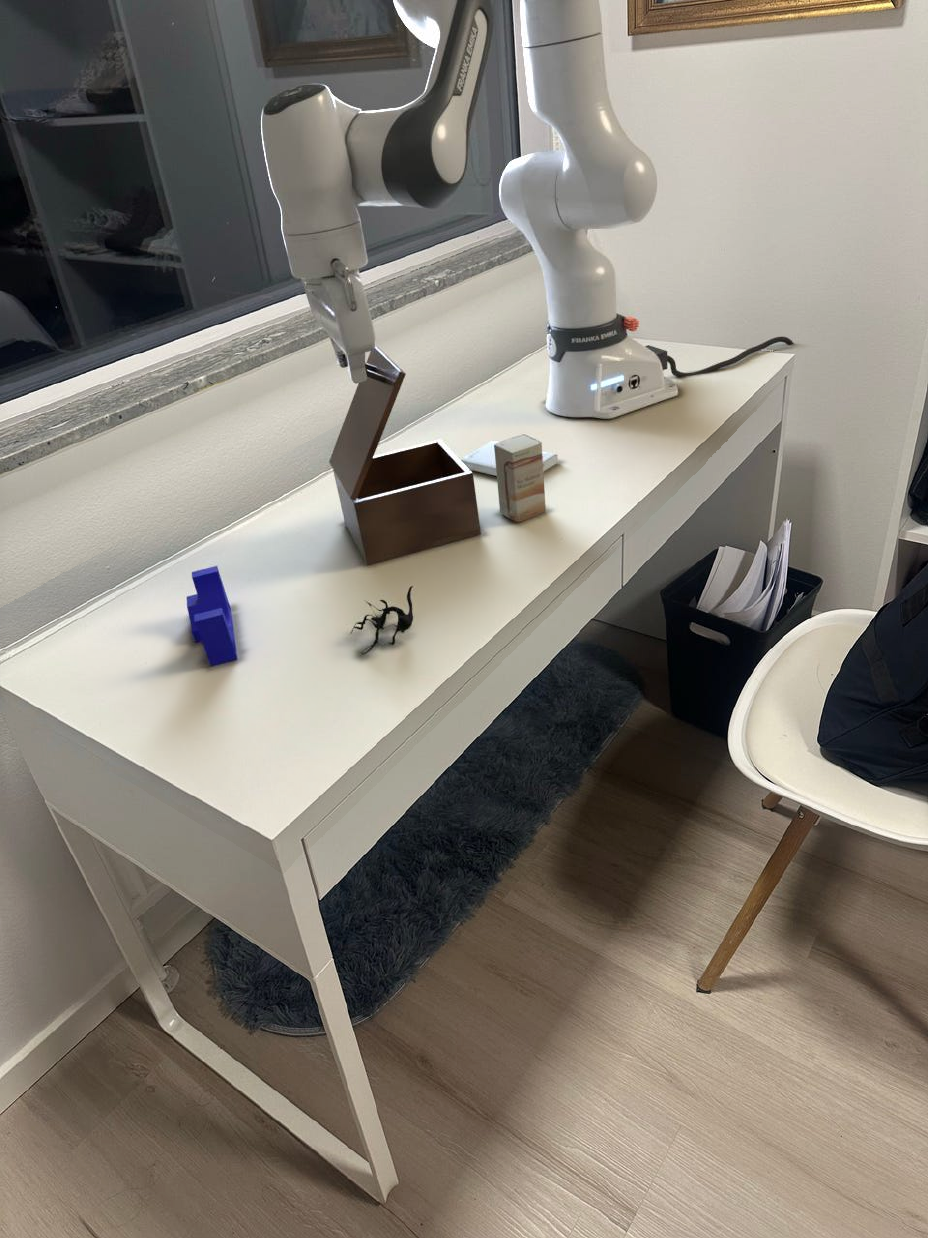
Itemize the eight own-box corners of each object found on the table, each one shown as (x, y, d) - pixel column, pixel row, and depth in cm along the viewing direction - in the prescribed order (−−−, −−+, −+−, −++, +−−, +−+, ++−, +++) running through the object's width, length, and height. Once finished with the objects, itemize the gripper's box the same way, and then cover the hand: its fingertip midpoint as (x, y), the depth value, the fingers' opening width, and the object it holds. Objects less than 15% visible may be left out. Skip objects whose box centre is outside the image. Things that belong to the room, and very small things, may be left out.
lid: (378, 346, 114) (344, 333, 112) (406, 373, 103) (368, 359, 101) (334, 463, 120) (300, 453, 118) (356, 501, 109) (319, 489, 106)
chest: (449, 496, 128) (441, 438, 123) (481, 534, 117) (473, 472, 112) (345, 523, 125) (332, 466, 120) (367, 565, 113) (353, 503, 109)
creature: (347, 665, 97) (413, 651, 94) (327, 625, 94) (394, 610, 92) (366, 625, 103) (428, 611, 101) (347, 587, 101) (410, 572, 98)
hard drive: (459, 459, 135) (523, 473, 127) (493, 439, 140) (557, 452, 132) (460, 469, 136) (524, 483, 128) (494, 449, 140) (558, 462, 133)
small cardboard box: (517, 524, 118) (510, 453, 112) (499, 513, 121) (490, 444, 116) (549, 511, 120) (543, 440, 114) (530, 501, 123) (523, 432, 118)
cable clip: (193, 617, 108) (178, 575, 105) (230, 607, 109) (216, 565, 106) (197, 670, 98) (180, 625, 95) (237, 659, 99) (222, 614, 96)
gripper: (375, 261, 92) (399, 390, 100) (336, 236, 109) (359, 347, 117) (316, 274, 91) (345, 403, 99) (286, 246, 108) (312, 358, 115)
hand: (352, 373), depth 108 cm, fingers closed on lid, 6 cm apart
